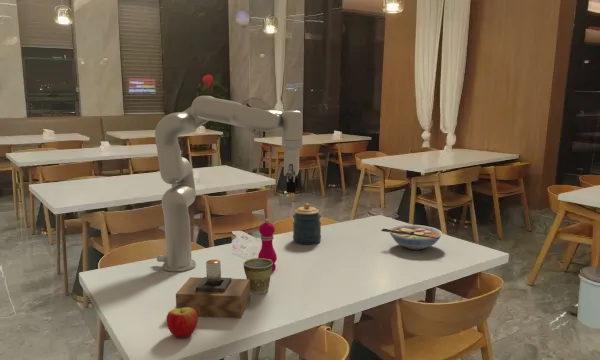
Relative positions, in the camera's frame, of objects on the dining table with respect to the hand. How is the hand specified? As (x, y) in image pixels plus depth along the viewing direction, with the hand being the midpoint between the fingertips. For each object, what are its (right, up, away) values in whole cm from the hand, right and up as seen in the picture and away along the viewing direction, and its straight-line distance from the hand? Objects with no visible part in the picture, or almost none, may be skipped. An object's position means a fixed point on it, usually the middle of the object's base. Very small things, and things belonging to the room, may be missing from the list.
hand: (292, 190), depth 185 cm
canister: (+6, -25, +43) cm, 50 cm away
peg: (-24, -30, -29) cm, 48 cm away
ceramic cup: (-11, -34, -13) cm, 38 cm away
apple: (-30, -40, -46) cm, 68 cm away
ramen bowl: (+53, -26, +33) cm, 68 cm away
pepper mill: (-10, -31, +6) cm, 33 cm away
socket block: (-24, -37, -28) cm, 52 cm away
